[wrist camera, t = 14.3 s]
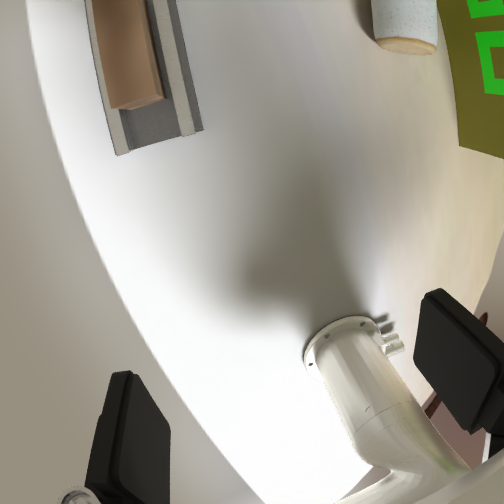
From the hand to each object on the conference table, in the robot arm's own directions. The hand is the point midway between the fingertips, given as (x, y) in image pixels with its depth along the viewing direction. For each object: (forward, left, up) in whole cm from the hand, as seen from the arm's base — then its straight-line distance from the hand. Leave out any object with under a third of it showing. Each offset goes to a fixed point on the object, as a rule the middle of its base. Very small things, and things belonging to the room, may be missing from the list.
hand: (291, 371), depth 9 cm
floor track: (+5, -16, -26) cm, 31 cm away
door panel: (+5, -16, -25) cm, 30 cm away
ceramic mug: (-24, -16, -26) cm, 39 cm away
